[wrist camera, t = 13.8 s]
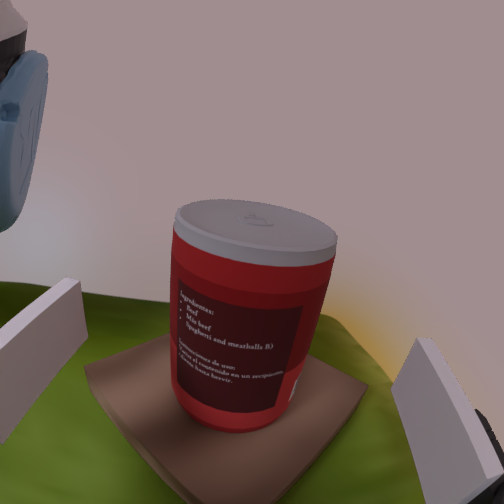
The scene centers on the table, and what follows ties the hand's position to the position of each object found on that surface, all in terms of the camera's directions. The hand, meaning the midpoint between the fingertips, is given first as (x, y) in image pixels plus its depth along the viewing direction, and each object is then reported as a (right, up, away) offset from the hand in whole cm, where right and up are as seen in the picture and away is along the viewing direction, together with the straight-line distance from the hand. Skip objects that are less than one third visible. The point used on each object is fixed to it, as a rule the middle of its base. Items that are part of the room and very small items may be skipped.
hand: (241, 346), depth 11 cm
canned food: (-1, -5, +8) cm, 9 cm away
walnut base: (-1, -8, +8) cm, 11 cm away
